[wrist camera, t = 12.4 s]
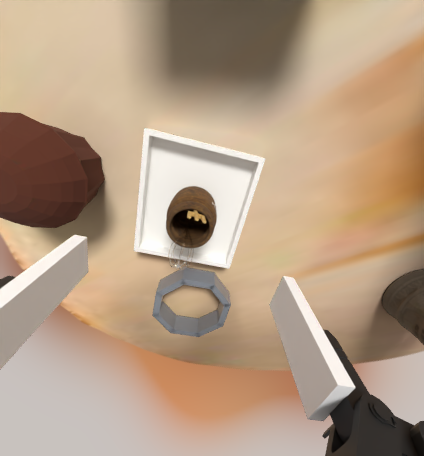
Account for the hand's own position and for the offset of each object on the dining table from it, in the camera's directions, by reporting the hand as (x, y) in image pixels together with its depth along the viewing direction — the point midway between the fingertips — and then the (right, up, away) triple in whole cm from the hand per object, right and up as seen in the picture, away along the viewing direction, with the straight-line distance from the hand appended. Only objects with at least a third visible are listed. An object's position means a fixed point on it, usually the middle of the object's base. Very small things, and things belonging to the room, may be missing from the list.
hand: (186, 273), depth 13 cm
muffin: (-17, +11, +12) cm, 24 cm away
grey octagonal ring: (-2, -9, +22) cm, 24 cm away
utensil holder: (-1, +6, +14) cm, 15 cm away
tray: (-1, +7, +15) cm, 16 cm away
